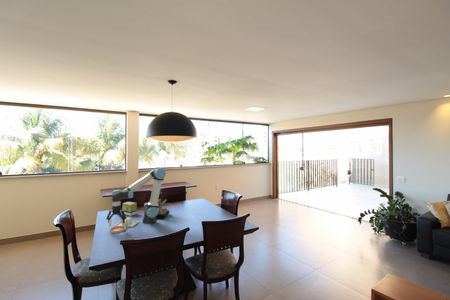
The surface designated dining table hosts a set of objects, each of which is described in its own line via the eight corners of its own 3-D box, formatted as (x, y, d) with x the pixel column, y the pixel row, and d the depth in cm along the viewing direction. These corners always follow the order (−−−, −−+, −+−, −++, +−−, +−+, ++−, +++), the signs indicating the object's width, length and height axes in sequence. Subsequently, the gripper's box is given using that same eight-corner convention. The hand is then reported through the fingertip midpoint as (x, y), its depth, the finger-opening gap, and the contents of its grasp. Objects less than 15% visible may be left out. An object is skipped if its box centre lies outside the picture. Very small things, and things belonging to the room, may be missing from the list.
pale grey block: (127, 224, 231) (127, 219, 231) (125, 226, 226) (125, 220, 226) (123, 224, 231) (123, 219, 231) (121, 226, 226) (121, 220, 226)
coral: (163, 219, 251) (163, 201, 251) (146, 219, 252) (146, 201, 252) (169, 213, 276) (169, 196, 276) (154, 212, 277) (154, 196, 277)
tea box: (122, 214, 270) (122, 203, 270) (128, 212, 279) (128, 201, 279) (130, 216, 264) (130, 204, 264) (136, 213, 273) (136, 202, 273)
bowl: (128, 227, 223) (128, 225, 223) (121, 233, 208) (121, 231, 208) (115, 227, 224) (115, 225, 224) (106, 232, 209) (106, 230, 209)
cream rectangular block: (130, 222, 238) (130, 217, 238) (129, 224, 233) (129, 218, 233) (127, 222, 238) (127, 217, 238) (125, 224, 233) (125, 218, 233)
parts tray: (138, 222, 239) (138, 221, 239) (132, 227, 224) (132, 226, 224) (121, 222, 240) (121, 221, 240) (113, 227, 225) (113, 225, 225)
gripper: (130, 204, 216) (130, 225, 216) (106, 204, 218) (106, 224, 217) (126, 206, 209) (126, 227, 209) (102, 206, 210) (102, 227, 210)
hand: (116, 226), depth 213 cm, fingers open, 13 cm apart
